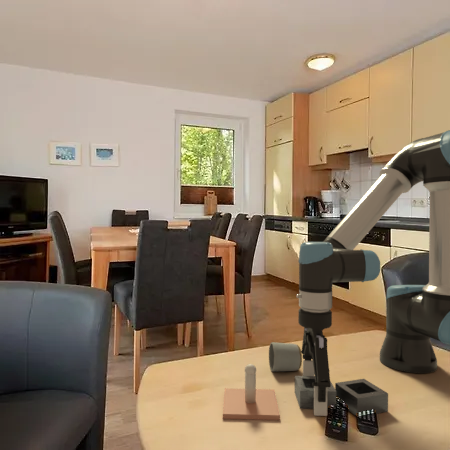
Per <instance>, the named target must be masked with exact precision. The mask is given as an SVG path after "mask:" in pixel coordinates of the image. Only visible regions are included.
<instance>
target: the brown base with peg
mask: <svg viewBox="0 0 450 450" xmlns="http://www.w3.org/2000/svg"><path fill="white" fill-rule="evenodd" d="M256 381H257V368H256V366H255V365H254V364H253V363H248V364H247V365H245V367H244V388H228V387H227V388H226V387H225V388H224V395H223V404H222V405H223V407H222V419H223V420H224V419H225V420H260V421H263V420H264V421H266V420H268V421H281V413H280V410H279V404H278V400H277V395H276V391H275V389H270V388H267V389H266V388H257V387H256V386H257V382H256Z"/></svg>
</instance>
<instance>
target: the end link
mask: <svg viewBox="0 0 450 450" xmlns="http://www.w3.org/2000/svg"><path fill="white" fill-rule="evenodd" d="M313 382H315V375H314V376H303V375H294V395H295V397H296V401H297V403H298V406H299V409H302V410H314V386H312V383H313ZM330 383H331V386H330V387H328V390H327V410H329V409H328V406H329V405H332V404H336V405H337V401H336V390H335V387H334V385H333V383H332V381H331V380H330Z"/></svg>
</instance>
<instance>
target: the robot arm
mask: <svg viewBox="0 0 450 450" xmlns="http://www.w3.org/2000/svg"><path fill="white" fill-rule="evenodd" d="M422 182H423V183H422ZM419 183H422V184H423V185H422V186H423V187H424V188H425V189H426V190H428V191H429V231H428V232H429V234H428V235H429V237H428V238H429V239H428V240H429V242H428V244H429V245H428V246H429V247H428V252H429V254H428V257H429V258H428V283H427V284H395V285H390V286H389V287H388V288H387V290H386V298H385V305H386V308H385V313H386V317H385V320H386V321H385V322H386V323H385V324H386V325H385V326H386V331H385V337H384V340H383V341H382V345H381V348H380V351H379V361H380V362H381V363H382V364H383V365H384V366H386V367H388V368H391V369H394V370H397V371H400V372H405V373H413V374H429V373H434V372H436V371H437V370H438V360H437V355H436V353H435V351H434V350H435V349H434V347H433V343H432V341H431V340H432V339H433V340H436V341H438V342H440V343H443V344H444V345H447V346H450V130H449V129H448V130H446V131H444V132H441V133H437V134H434V135H430V136H427V137H421V138H418V139H415V140H414V141H413V140H412V141H411V142H410V143H408V144H407V145H405V146H404V147H403V148H401V149H400V150H399V151H398V152H397V153H396V154H395V155H394V156H393V157H392V158H391V159H389V161H388V162H387V163H386V164H385V165H384V166H383V167H382V169H381V170H380V171H379V178H378V179H377V180H376V181H375V182H374V183H373V185H371V187H370V188H369V189H368V190H367V191H366V192H365V193H364V194H363V195H362V197H361V198H360V199H359V201H357V202H356V203H355V205H354V206H353V208H351V209H350V211H349V212H348V213H347V214H346V215H345V216H344V217H343V218H342V220H340V222H339V223H338V224H337V225H336V226H335V228H334V229H333V230H332V231H331V232H330V233H329V235H327V236H326V238H325V239H324V240H323V241H303V242H302V243H301V244H300V246H299V253H298V293H297V294H296V298H297V299H298V306H299V307H300V308H299V309H298V325H299V326H301V327H303V335H302V337H303V338H302V344H301V345H302V346H301V353H302V376H315V382H313V383H312V386H314V409H313V416H315V417H316V416H318V417H321V416H322V417H323V416H325V417H327V416H328V409H327V390H328V387H330V386H331V383H332V382H331V383H330V381H331V377H330V376H331V375H330V368H329V367H330V365H329V355H328V338H327V337H326V335H324V334H323V333H324V332H323V331H324V330H326V329H329V328H331V327H332V324H333V321H332V319H333V312H332V310H331V309H332V308H333V283H348V282H349V283H351V282H352V283H355V282H356V283H359V282H361V283H364V282H371V281H372V282H373V281H374V280H376V279H377V278H378V276H379V275H380V273H381V259H380V258H379V255H378V254H377V253H376V252H375V251H373V250H368V249H366V250H365V249H355V248H356V247H357V246H358V245H359V244H360V243H361V242H362V241H363V239H364V238H365V237H366V236H367V234H368V233H369V232H370V231H371V230H372V229H373V228H374V226H375V225H376V224H377V223H378V222H379V220H380V219H381V218H382V217H383V216H384V215H385V214H386V213H387V211H388V210H389V209H390V208H391V207H392V206H393V205H394V203H396V201H397V200H398V199H399V197H400V196H401V195H402V194H406V193H409V191H410V190H411V189H412V188H413V187H414V186H416V185H417V184H419Z"/></svg>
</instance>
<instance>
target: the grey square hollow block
mask: <svg viewBox="0 0 450 450" xmlns="http://www.w3.org/2000/svg"><path fill="white" fill-rule="evenodd" d="M334 385H335V387H334V388H335V390H336V396H338V397H339V398H340V399H342V400H343V401H344V402H345V403H346V404H347V405H348V408H349V410H348V411H349V412H350V413H351V414H352V415H354V416H355V415H356V413H358V412H362V411H366V410H372V409H375V410H376V414H381V413H387V412H389V393H388V392H387V391H385V390H383V389H381V388H380V387H378V386H376V385H375V384H374V383H372V382H371V381H368V380H367V379H366V378H360V379H359V378H358V379H351V380H345V381H341V382H335V384H334ZM376 414H375V415H376Z"/></svg>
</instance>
